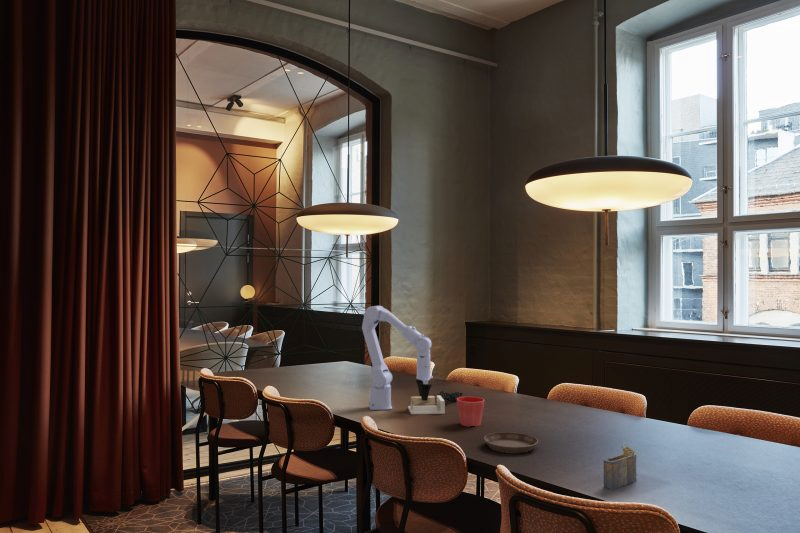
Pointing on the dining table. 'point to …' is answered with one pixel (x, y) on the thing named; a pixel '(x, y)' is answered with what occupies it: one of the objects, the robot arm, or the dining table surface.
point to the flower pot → (470, 410)
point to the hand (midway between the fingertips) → (423, 398)
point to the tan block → (422, 401)
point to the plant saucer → (510, 442)
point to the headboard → (430, 408)
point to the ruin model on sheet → (620, 469)
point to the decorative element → (449, 396)
